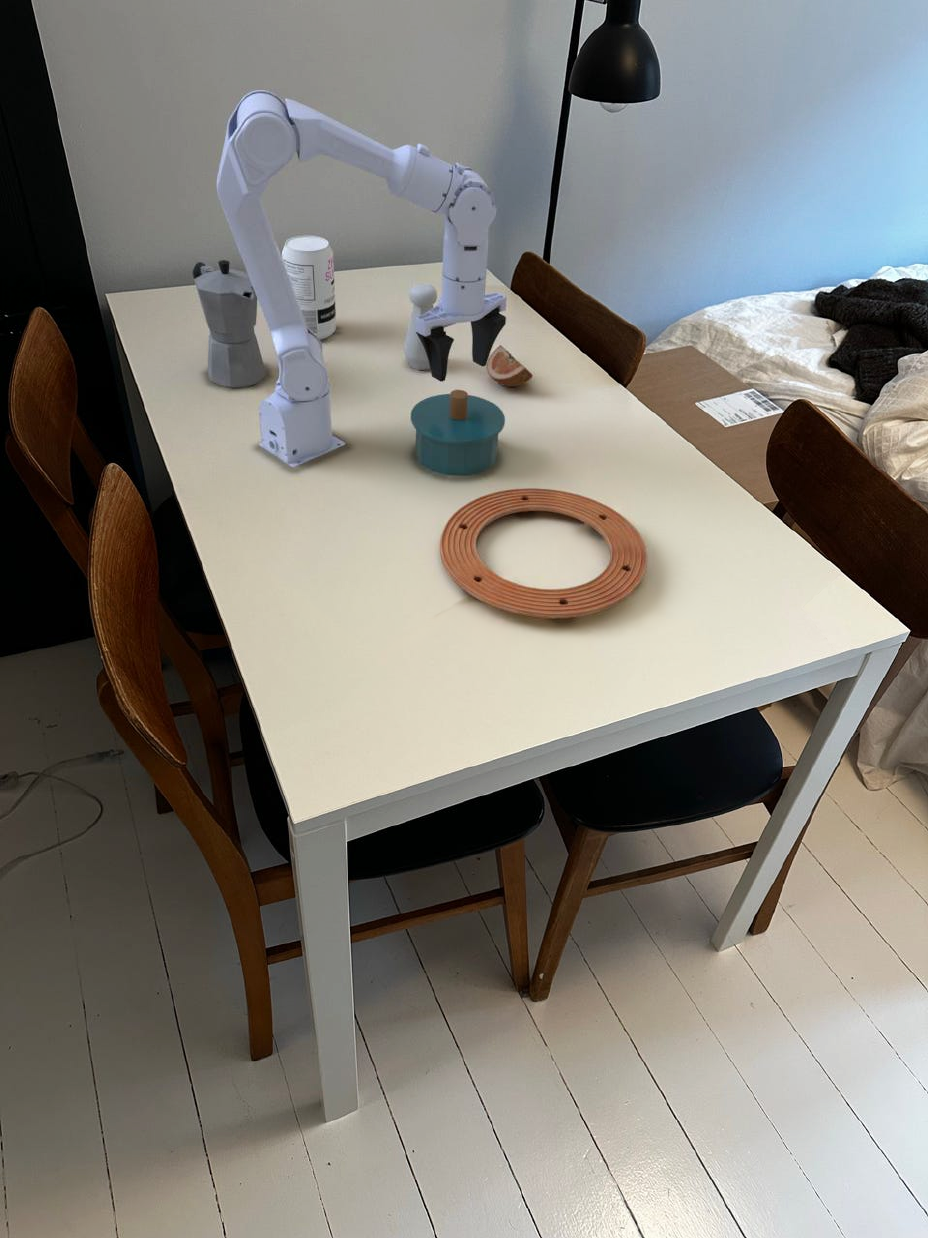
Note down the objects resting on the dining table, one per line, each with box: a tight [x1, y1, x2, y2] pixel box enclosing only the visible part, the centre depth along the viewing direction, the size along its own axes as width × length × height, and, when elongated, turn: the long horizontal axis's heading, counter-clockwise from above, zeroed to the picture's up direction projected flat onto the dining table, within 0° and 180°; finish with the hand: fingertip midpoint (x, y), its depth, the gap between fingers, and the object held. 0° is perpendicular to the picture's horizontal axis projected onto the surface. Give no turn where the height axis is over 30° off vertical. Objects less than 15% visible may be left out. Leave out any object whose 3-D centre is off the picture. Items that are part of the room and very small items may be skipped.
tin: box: [414, 429, 499, 477], centre depth 130 cm, size 11×11×6 cm
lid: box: [410, 389, 506, 444], centre depth 127 cm, size 13×13×4 cm
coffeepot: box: [192, 259, 268, 389], centre depth 142 cm, size 15×9×18 cm, turn 44°
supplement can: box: [281, 235, 337, 341], centre depth 155 cm, size 8×8×15 cm
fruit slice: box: [486, 344, 533, 387], centre depth 148 cm, size 8×7×5 cm
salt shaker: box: [403, 283, 438, 371], centre depth 149 cm, size 6×6×13 cm
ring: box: [439, 487, 648, 620], centre depth 114 cm, size 25×25×2 cm
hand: (459, 370), depth 130 cm, fingers open, 7 cm apart
